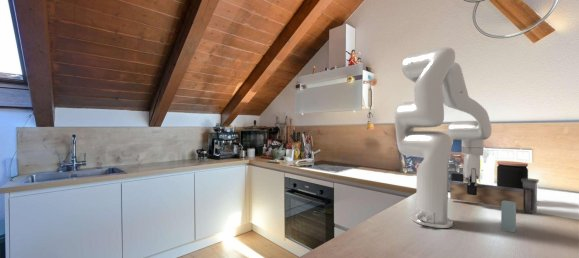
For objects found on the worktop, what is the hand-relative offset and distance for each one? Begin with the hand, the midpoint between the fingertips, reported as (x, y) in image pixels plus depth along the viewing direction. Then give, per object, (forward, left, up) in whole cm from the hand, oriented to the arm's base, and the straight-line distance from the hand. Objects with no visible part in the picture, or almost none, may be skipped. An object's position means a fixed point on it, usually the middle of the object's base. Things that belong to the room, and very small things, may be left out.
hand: (471, 194), depth 106 cm
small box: (+25, +16, -5) cm, 30 cm away
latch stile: (-20, -16, -5) cm, 27 cm away
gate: (+5, -4, -4) cm, 8 cm away
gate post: (+12, -16, -5) cm, 21 cm away
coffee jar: (+25, -8, -5) cm, 26 cm away
